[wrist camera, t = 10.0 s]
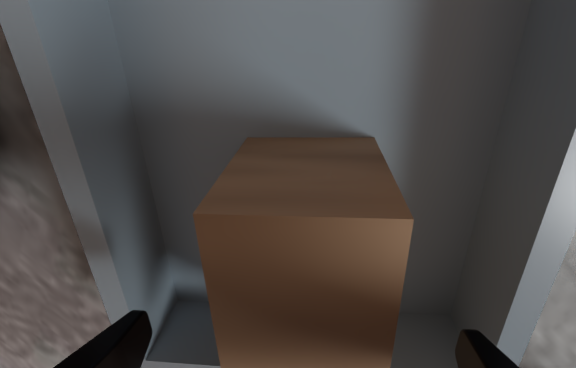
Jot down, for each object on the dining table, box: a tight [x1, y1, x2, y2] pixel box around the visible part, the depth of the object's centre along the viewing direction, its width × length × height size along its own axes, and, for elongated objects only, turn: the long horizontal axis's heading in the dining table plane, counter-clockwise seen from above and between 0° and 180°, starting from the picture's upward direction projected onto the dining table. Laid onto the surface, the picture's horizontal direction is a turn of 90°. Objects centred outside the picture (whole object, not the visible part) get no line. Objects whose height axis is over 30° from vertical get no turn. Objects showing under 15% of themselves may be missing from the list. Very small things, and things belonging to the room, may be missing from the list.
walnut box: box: [193, 137, 414, 368], centre depth 12 cm, size 8×5×6 cm, turn 2°
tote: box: [0, 0, 576, 368], centre depth 11 cm, size 24×16×4 cm, turn 2°
